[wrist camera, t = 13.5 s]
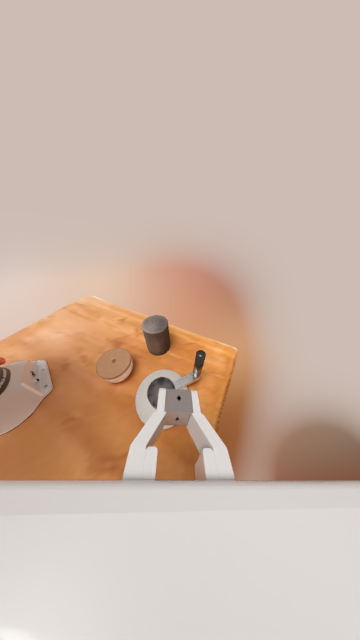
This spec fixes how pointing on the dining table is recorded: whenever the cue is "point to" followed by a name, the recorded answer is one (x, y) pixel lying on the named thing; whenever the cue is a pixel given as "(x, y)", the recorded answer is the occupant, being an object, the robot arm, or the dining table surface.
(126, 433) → the dining table surface
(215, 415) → the dining table surface
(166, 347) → the pillar candle
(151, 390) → the saucepan with upright handle
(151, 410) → the light grey round disc
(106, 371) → the lidded jar
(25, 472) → the dining table surface
